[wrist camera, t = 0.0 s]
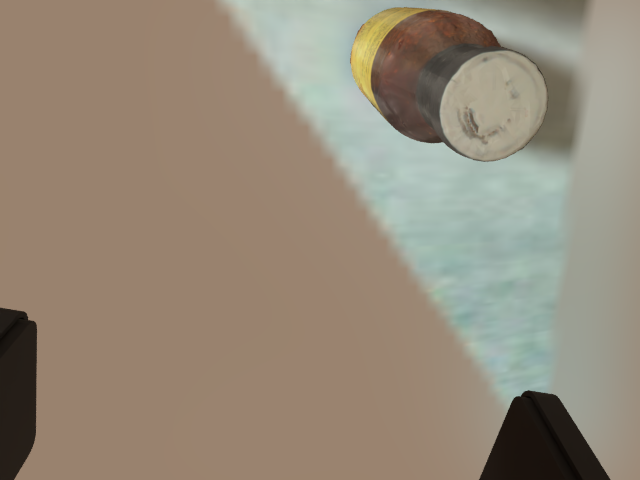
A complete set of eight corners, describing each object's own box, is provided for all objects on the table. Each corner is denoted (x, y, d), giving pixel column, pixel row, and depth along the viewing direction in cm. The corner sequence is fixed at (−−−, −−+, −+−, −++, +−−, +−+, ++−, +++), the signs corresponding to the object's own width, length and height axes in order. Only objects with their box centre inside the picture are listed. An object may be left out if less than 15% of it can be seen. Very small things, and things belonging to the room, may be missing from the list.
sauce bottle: (347, 102, 40) (384, 194, 21) (350, 5, 37) (394, 15, 19) (440, 102, 40) (556, 194, 21) (449, 6, 37) (588, 17, 19)
